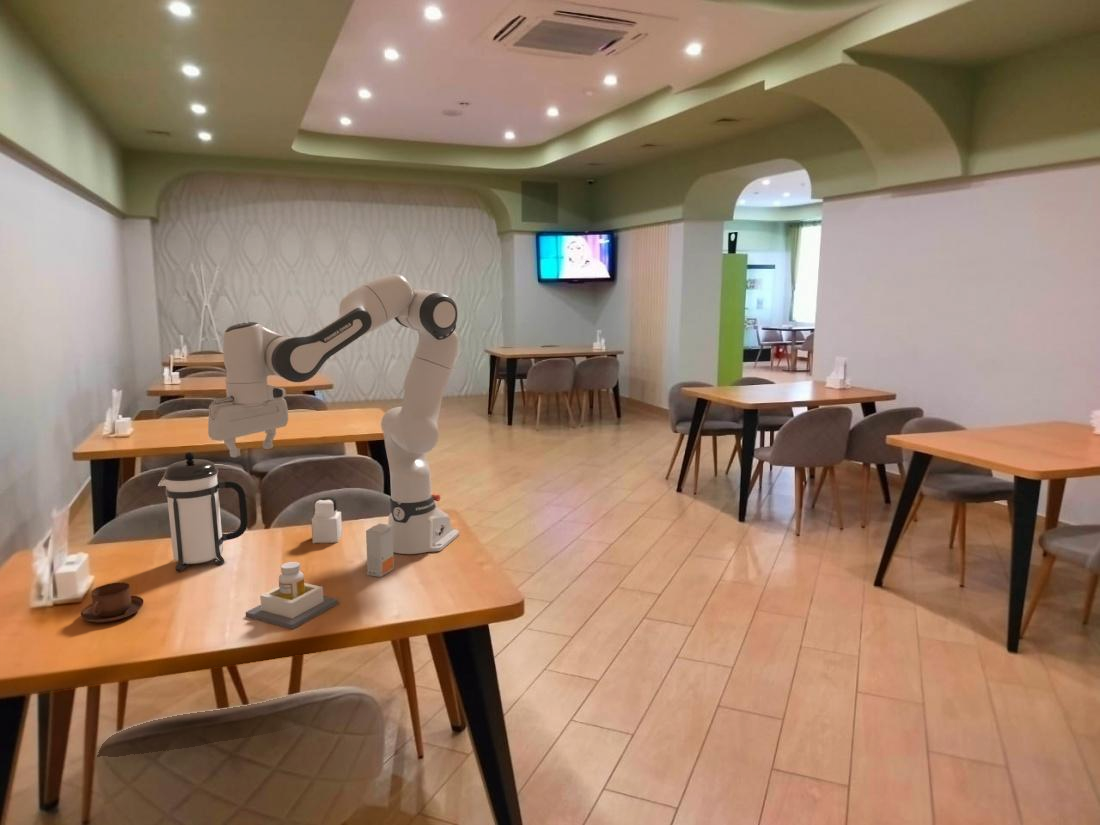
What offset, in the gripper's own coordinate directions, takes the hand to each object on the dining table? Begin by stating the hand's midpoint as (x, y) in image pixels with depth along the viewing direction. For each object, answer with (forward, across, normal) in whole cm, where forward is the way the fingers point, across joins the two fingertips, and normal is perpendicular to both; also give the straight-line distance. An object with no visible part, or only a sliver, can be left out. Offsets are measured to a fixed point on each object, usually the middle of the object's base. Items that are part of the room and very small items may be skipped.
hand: (252, 452), depth 166 cm
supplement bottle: (+33, -5, -15) cm, 37 cm away
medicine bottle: (+34, +34, +11) cm, 50 cm away
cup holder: (+34, -5, -15) cm, 38 cm away
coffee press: (+34, +7, +29) cm, 46 cm away
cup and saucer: (+34, -24, +20) cm, 46 cm away
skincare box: (+34, +21, -19) cm, 45 cm away
